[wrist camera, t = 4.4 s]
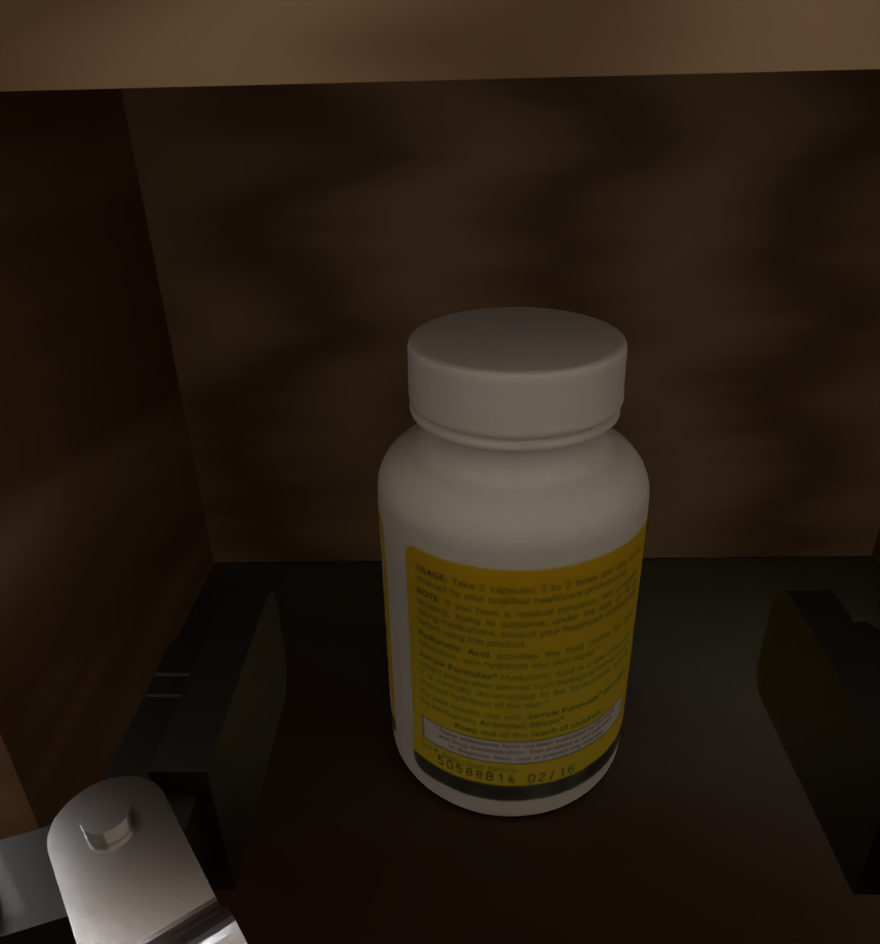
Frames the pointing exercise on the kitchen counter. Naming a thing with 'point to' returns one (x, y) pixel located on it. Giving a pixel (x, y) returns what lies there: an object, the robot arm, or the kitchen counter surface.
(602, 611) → the supplement bottle
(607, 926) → the kitchen counter surface
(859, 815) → the robot arm
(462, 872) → the kitchen counter surface
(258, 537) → the cubby
